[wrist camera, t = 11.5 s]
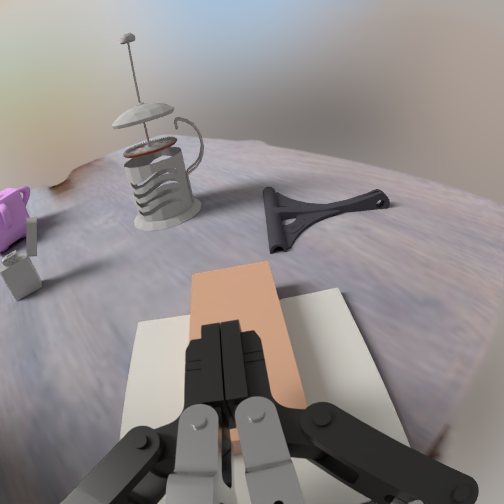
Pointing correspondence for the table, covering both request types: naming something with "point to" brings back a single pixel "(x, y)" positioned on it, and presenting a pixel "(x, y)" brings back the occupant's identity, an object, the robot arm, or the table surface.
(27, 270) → the lighter
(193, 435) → the robot arm
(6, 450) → the table surface
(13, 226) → the teapot
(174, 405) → the mat
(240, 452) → the tile
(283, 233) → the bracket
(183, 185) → the french press
